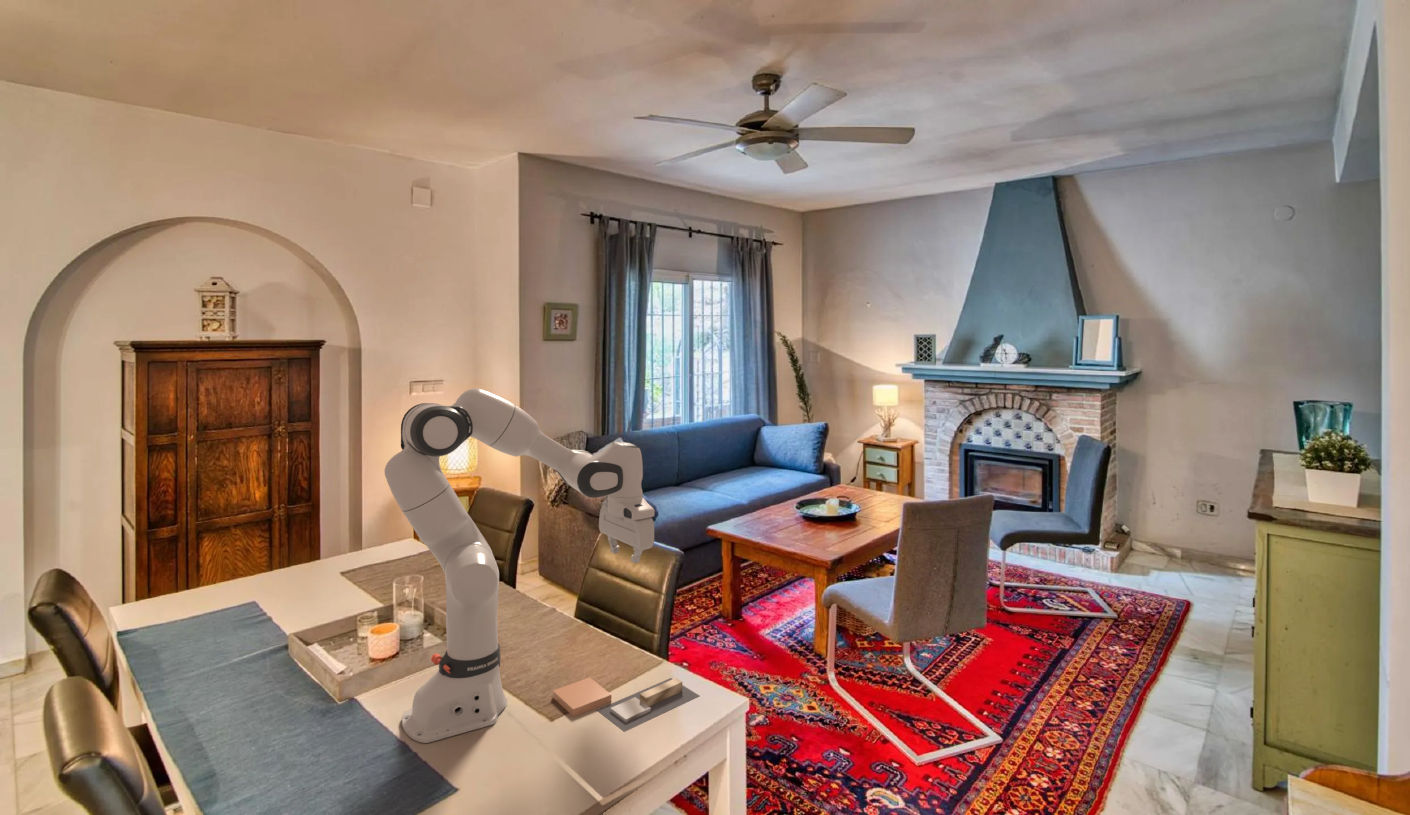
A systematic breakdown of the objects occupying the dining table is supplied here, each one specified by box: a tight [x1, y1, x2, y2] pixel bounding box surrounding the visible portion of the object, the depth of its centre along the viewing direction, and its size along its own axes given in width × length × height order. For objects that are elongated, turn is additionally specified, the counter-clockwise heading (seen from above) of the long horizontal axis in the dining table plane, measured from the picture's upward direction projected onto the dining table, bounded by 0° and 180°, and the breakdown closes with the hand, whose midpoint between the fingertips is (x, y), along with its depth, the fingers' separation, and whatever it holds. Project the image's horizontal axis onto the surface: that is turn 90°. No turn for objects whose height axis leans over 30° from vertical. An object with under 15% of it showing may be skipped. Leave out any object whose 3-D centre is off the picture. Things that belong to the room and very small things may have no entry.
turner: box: [610, 677, 683, 723], centre depth 159 cm, size 18×6×2 cm, turn 132°
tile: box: [552, 677, 612, 717], centre depth 160 cm, size 3×10×10 cm
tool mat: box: [596, 677, 700, 732], centre depth 159 cm, size 22×11×1 cm, turn 132°
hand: (625, 557), depth 174 cm, fingers open, 8 cm apart
